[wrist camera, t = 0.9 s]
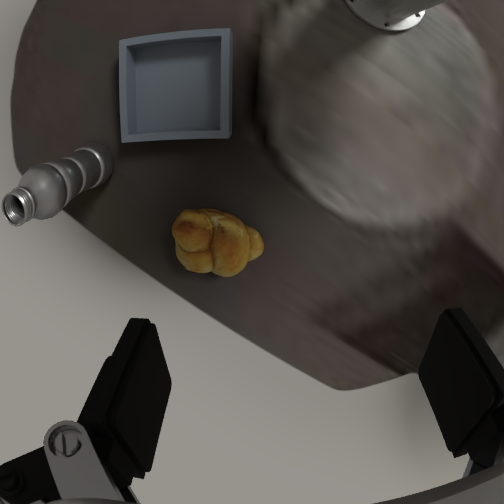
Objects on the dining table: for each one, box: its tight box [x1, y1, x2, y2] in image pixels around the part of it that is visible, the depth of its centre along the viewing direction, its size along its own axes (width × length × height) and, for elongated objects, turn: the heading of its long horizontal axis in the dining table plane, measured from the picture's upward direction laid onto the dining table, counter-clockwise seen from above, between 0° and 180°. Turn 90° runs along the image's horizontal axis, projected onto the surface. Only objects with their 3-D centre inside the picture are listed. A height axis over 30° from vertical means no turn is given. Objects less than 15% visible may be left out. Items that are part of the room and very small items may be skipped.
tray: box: [119, 28, 233, 143], centre depth 35 cm, size 14×14×4 cm
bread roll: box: [172, 208, 264, 277], centre depth 44 cm, size 13×10×8 cm
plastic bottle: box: [2, 143, 114, 226], centre depth 33 cm, size 6×7×20 cm
